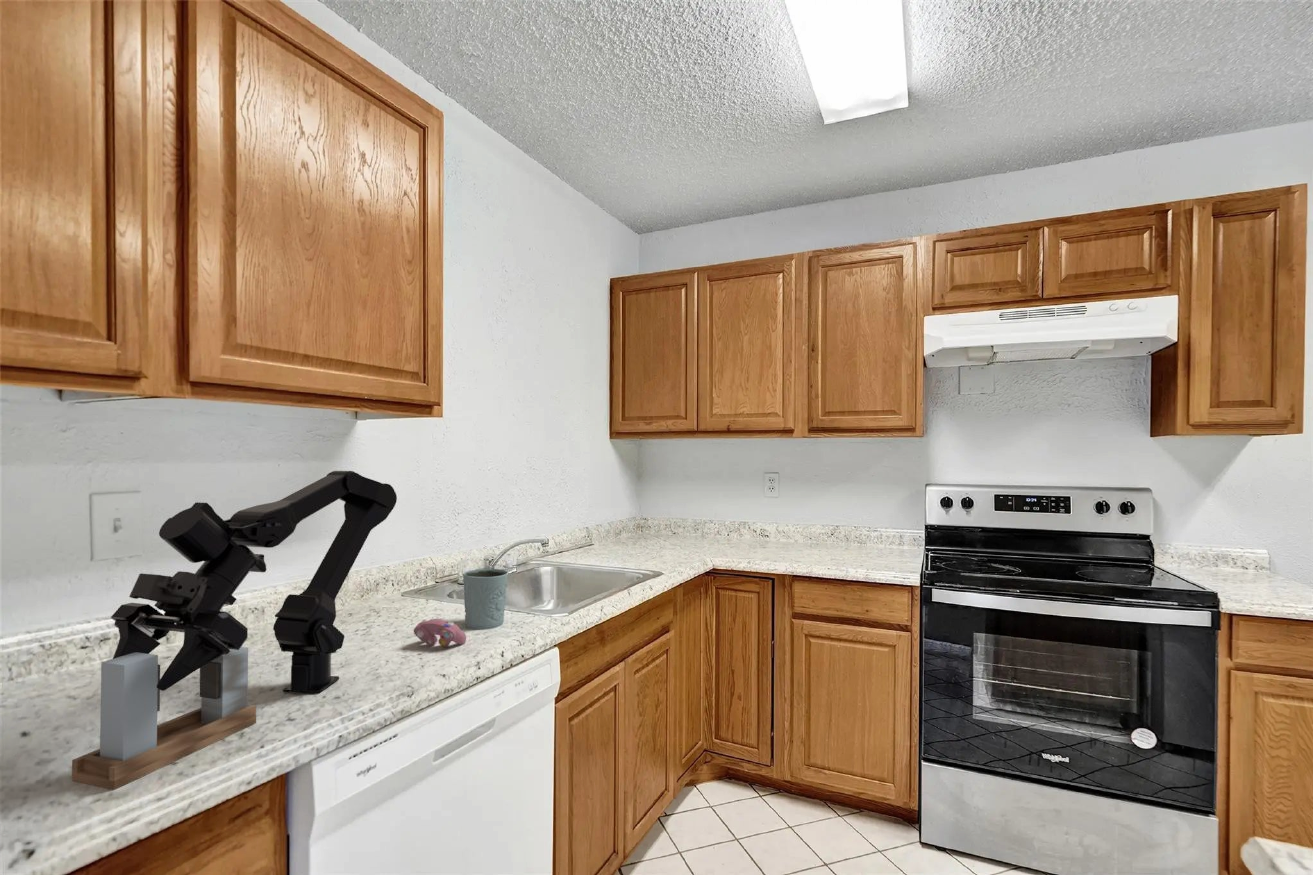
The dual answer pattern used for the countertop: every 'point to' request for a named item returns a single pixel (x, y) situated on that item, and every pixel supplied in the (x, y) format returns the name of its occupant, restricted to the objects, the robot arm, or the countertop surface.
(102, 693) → the slate finger
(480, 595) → the grey green cup
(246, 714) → the walnut rail
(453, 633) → the video game controller
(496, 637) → the countertop surface
